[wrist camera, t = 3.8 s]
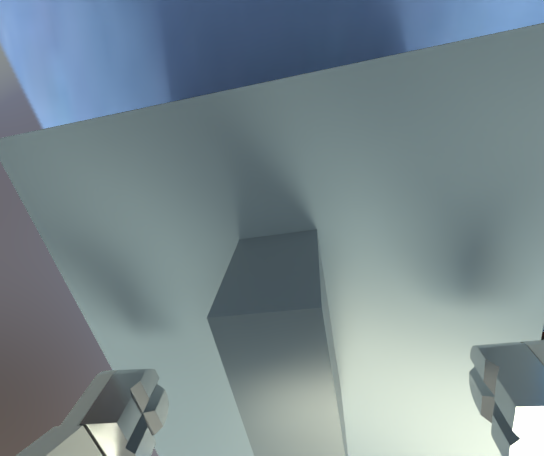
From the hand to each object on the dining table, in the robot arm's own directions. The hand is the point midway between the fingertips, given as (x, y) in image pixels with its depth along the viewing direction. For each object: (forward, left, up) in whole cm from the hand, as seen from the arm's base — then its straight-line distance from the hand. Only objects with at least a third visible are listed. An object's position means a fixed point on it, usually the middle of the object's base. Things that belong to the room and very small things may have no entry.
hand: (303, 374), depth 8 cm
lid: (-1, 0, -3) cm, 2 cm away
